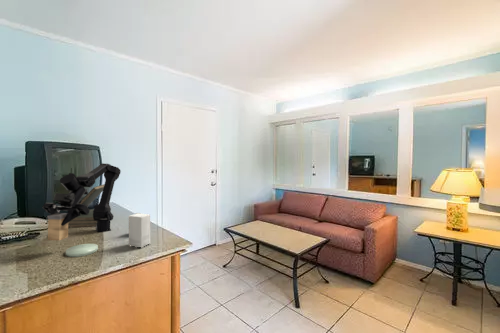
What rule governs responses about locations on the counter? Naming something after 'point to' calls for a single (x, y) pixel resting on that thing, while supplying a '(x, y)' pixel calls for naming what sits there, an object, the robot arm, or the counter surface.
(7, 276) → the counter surface
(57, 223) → the grey cushioned footstool
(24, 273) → the counter surface
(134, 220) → the skincare box
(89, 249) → the sage green coaster
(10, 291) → the counter surface
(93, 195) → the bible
